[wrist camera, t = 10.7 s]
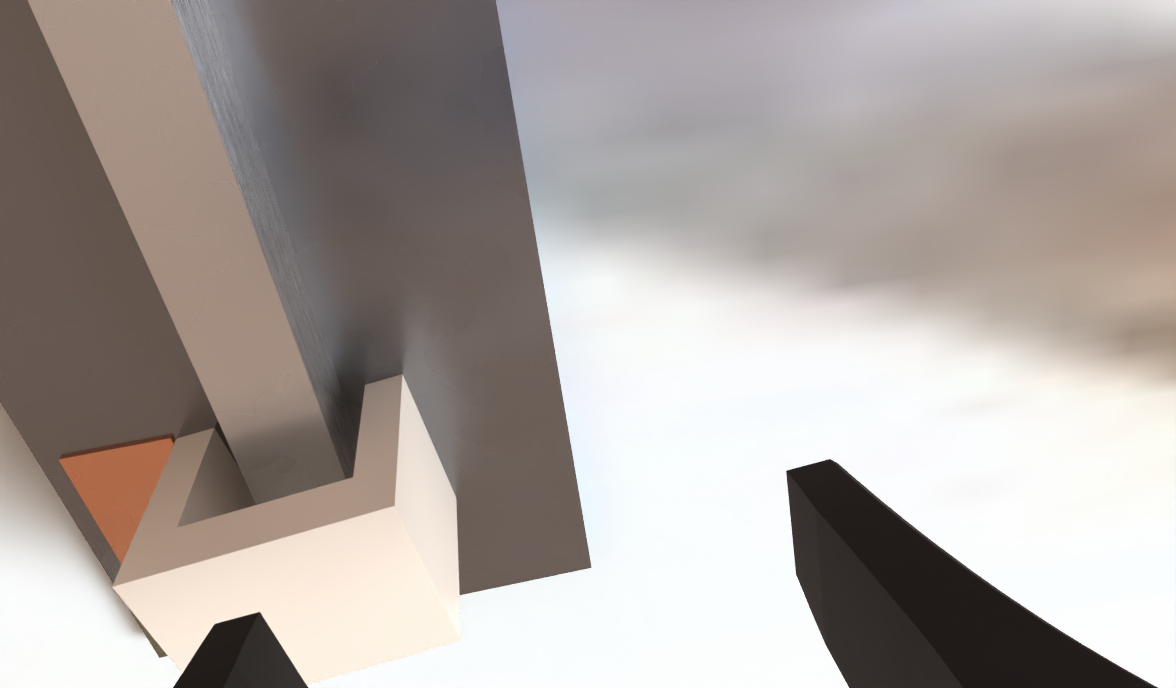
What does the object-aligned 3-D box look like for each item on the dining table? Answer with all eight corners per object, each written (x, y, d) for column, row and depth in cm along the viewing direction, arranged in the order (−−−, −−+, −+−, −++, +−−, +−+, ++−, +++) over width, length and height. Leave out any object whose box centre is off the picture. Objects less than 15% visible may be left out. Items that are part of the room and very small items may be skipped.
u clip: (402, 374, 19) (394, 506, 15) (456, 497, 21) (461, 639, 17) (176, 438, 19) (112, 587, 15) (253, 555, 21) (213, 712, 17)
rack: (463, -183, 14) (468, -188, 12) (586, 547, 24) (604, 624, 22) (-260, -81, 14) (-407, -65, 11) (167, 633, 23) (137, 723, 21)
